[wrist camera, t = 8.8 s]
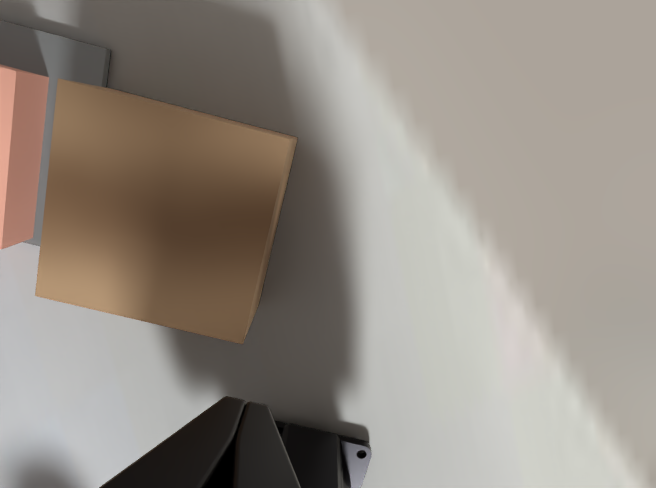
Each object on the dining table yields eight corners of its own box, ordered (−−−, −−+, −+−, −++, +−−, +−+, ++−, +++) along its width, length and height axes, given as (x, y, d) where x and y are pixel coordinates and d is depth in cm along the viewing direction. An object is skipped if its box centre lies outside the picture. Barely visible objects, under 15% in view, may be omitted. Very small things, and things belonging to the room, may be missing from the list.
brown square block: (258, 305, 21) (242, 344, 17) (89, 265, 21) (35, 295, 17) (297, 137, 19) (289, 139, 16) (113, 89, 19) (58, 78, 15)
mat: (84, 253, 21) (79, 255, 20) (-82, 213, 20) (-90, 215, 20) (111, 50, 19) (106, 48, 18) (-75, 0, 18) (-83, -3, 18)
